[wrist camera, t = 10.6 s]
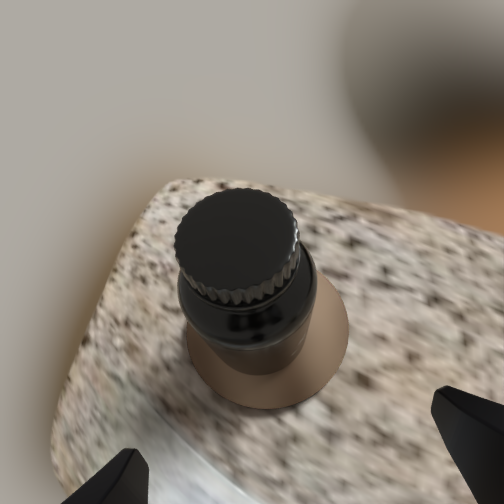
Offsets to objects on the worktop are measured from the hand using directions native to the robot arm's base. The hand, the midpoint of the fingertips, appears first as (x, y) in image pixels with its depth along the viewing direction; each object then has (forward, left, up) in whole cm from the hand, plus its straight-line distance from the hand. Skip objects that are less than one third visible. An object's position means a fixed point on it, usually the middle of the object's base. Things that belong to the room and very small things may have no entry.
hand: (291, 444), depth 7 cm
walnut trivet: (+3, +7, -13) cm, 15 cm away
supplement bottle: (+2, +7, -12) cm, 14 cm away
